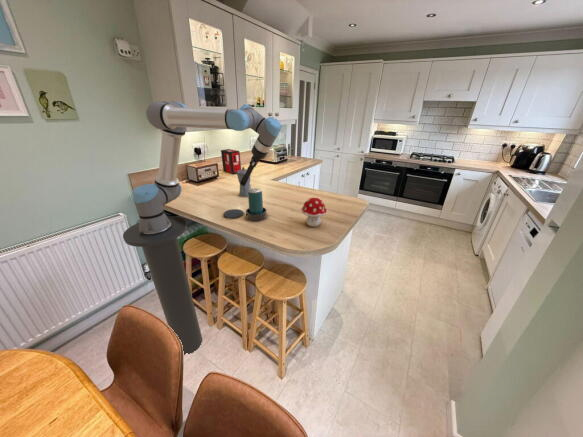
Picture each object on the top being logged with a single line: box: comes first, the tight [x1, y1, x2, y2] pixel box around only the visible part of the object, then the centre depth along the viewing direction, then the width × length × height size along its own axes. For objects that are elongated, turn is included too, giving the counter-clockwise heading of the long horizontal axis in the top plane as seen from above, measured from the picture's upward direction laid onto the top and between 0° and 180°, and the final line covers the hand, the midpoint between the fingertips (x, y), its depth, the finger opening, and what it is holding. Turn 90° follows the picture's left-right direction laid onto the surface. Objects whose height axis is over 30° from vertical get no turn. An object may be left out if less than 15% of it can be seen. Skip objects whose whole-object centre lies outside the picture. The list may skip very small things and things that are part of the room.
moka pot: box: [236, 166, 252, 198], centre depth 163 cm, size 10×15×20 cm, turn 16°
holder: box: [245, 206, 268, 222], centre depth 133 cm, size 12×12×4 cm
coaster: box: [223, 208, 244, 220], centre depth 136 cm, size 11×11×1 cm
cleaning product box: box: [220, 148, 242, 175], centre depth 219 cm, size 16×9×20 cm, turn 48°
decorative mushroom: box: [300, 197, 328, 228], centre depth 123 cm, size 14×14×15 cm
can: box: [247, 187, 264, 214], centre depth 130 cm, size 8×8×16 cm
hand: (246, 176), depth 127 cm, fingers open, 13 cm apart
